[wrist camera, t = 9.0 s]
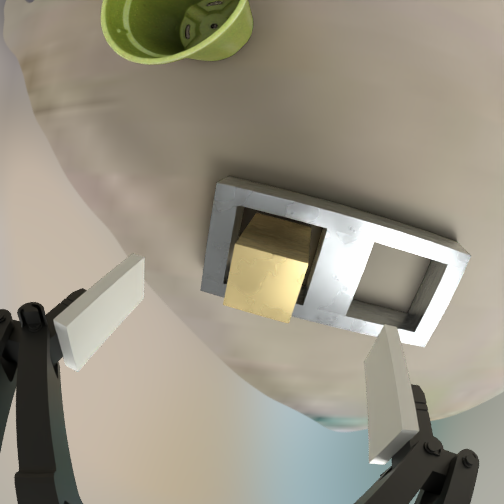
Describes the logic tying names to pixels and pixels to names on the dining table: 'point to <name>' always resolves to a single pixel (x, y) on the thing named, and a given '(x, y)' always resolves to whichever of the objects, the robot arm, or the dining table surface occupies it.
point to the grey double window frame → (338, 259)
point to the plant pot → (175, 29)
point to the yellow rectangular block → (268, 267)
